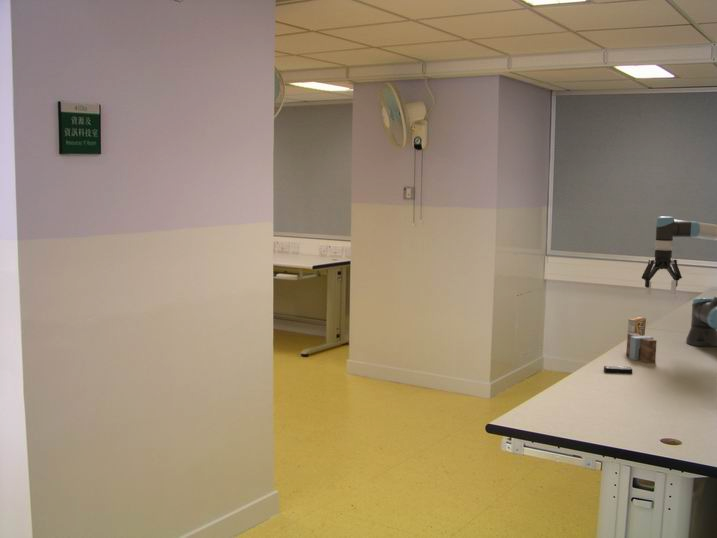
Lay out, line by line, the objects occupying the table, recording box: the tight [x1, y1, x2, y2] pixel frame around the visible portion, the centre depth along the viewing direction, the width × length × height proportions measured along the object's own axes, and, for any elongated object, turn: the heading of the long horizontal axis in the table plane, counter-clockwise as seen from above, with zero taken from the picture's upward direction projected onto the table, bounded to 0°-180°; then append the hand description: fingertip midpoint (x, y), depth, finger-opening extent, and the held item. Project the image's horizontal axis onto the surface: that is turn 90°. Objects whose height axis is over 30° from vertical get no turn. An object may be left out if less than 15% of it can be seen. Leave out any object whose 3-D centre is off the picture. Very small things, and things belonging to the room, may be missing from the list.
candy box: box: [627, 316, 647, 337], centre depth 375 cm, size 9×4×15 cm, turn 129°
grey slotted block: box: [628, 335, 654, 361], centre depth 358 cm, size 9×4×10 cm, turn 105°
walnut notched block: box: [626, 333, 658, 364], centre depth 358 cm, size 4×16×10 cm, turn 15°
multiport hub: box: [603, 365, 633, 375], centre depth 333 cm, size 4×11×2 cm, turn 83°
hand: (660, 294), depth 376 cm, fingers open, 13 cm apart
